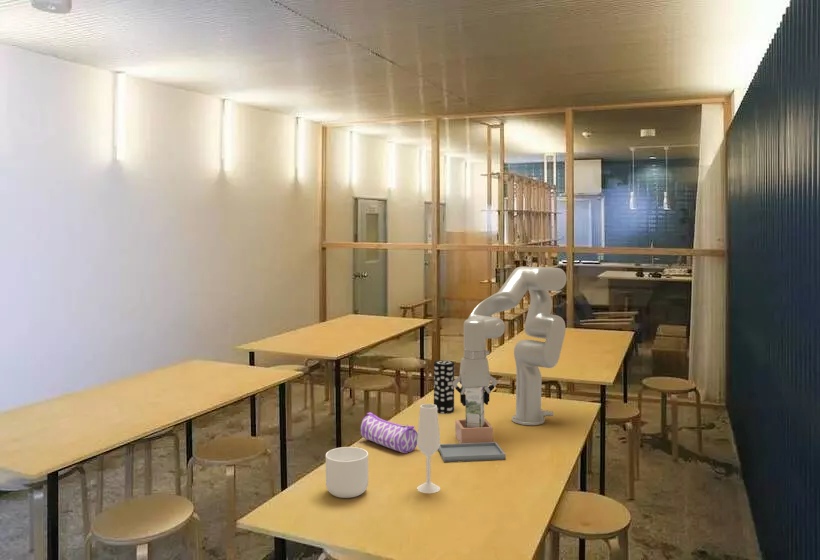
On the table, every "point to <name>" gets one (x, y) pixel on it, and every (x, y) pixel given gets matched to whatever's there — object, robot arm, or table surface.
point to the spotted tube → (444, 386)
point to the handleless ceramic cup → (347, 471)
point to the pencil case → (389, 433)
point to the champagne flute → (428, 442)
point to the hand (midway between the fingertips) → (474, 404)
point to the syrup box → (474, 407)
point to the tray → (471, 452)
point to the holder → (473, 432)
